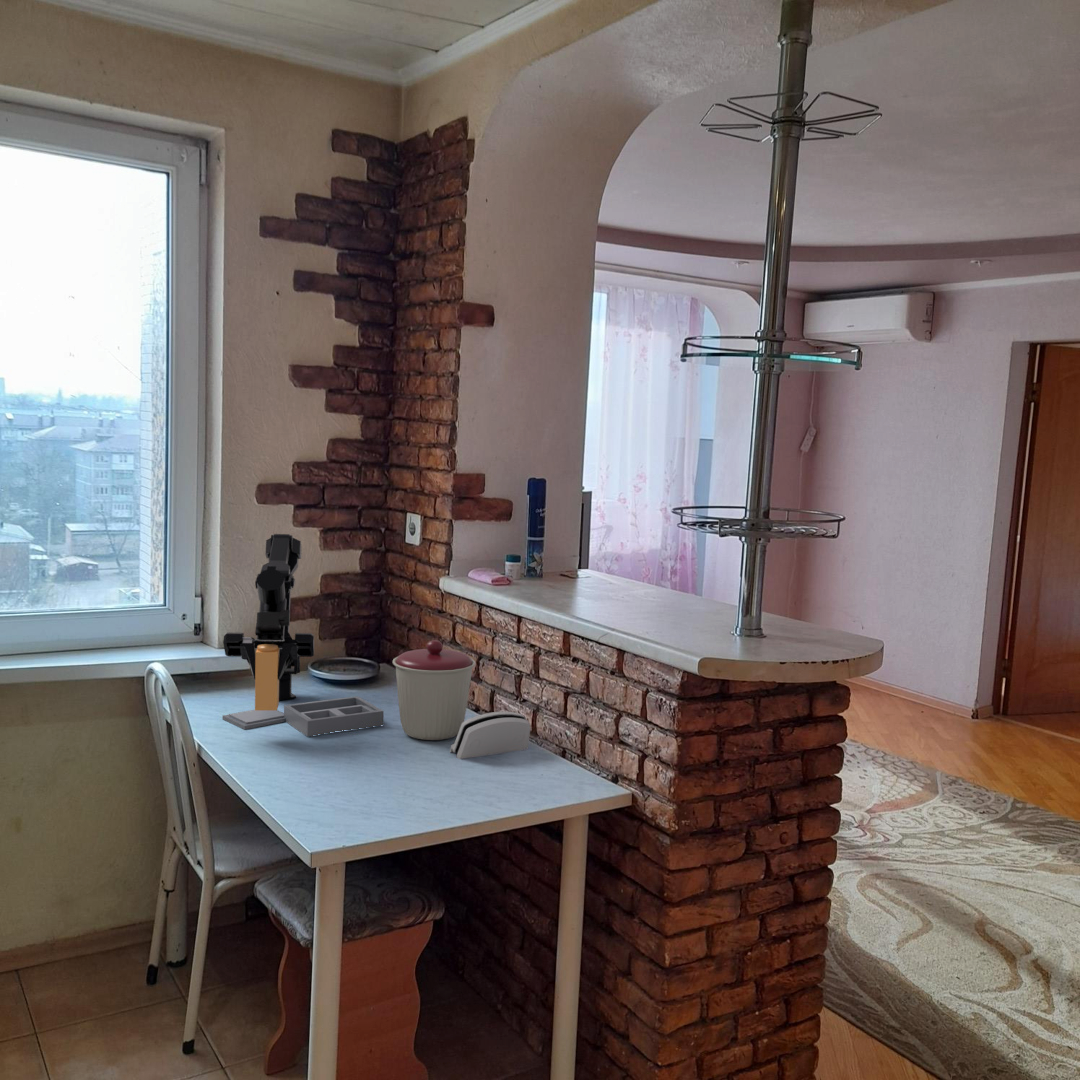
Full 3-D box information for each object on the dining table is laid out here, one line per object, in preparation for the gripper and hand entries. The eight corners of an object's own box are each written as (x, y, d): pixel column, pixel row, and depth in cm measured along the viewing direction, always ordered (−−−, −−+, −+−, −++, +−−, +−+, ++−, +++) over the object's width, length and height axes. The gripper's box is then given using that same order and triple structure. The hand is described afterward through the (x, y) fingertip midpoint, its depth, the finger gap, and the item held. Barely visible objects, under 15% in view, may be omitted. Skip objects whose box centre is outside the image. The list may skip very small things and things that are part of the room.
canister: (410, 718, 239) (412, 629, 237) (483, 727, 235) (487, 636, 232) (377, 740, 222) (379, 644, 220) (456, 750, 217) (459, 652, 215)
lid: (222, 719, 233) (222, 713, 233) (270, 710, 241) (270, 705, 241) (244, 729, 226) (244, 724, 226) (292, 720, 234) (292, 715, 234)
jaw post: (257, 704, 221) (257, 643, 220) (278, 704, 222) (279, 643, 221) (254, 710, 217) (255, 648, 215) (276, 710, 218) (277, 648, 216)
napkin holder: (517, 742, 225) (526, 704, 221) (527, 755, 221) (537, 716, 217) (448, 752, 216) (456, 712, 212) (457, 765, 213) (466, 725, 209)
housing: (283, 720, 234) (284, 705, 233) (357, 710, 244) (357, 696, 244) (307, 737, 222) (307, 721, 222) (383, 726, 233) (383, 710, 232)
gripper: (224, 595, 219) (217, 658, 210) (314, 596, 222) (311, 658, 213) (229, 624, 228) (222, 686, 218) (315, 625, 231) (312, 686, 221)
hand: (266, 678), depth 217 cm, fingers closed on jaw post, 4 cm apart
